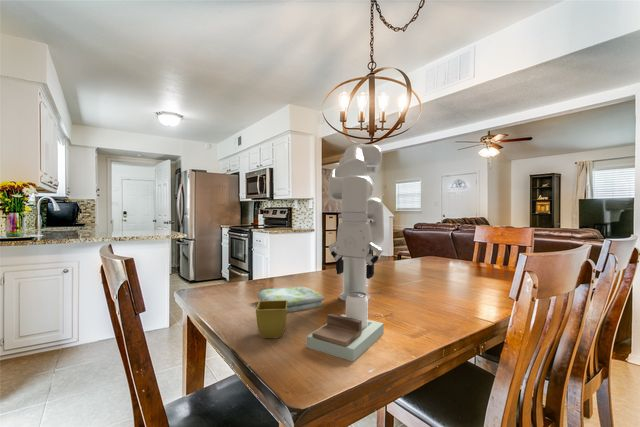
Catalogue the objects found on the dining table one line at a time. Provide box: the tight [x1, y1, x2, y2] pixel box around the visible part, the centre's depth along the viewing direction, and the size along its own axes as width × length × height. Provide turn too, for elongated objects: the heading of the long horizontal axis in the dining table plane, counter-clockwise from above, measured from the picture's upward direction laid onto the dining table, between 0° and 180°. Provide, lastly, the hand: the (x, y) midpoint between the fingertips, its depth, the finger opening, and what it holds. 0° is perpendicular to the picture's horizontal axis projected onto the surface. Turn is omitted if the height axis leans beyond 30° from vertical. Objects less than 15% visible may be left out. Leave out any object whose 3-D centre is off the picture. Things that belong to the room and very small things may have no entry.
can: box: [345, 292, 369, 331], centre depth 89 cm, size 6×6×12 cm
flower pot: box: [255, 300, 288, 339], centre depth 88 cm, size 9×9×9 cm
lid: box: [311, 313, 362, 346], centre depth 80 cm, size 9×10×4 cm
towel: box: [257, 286, 325, 314], centre depth 118 cm, size 18×21×5 cm
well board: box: [306, 314, 385, 362], centre depth 85 cm, size 20×14×3 cm
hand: (354, 275), depth 90 cm, fingers open, 9 cm apart
